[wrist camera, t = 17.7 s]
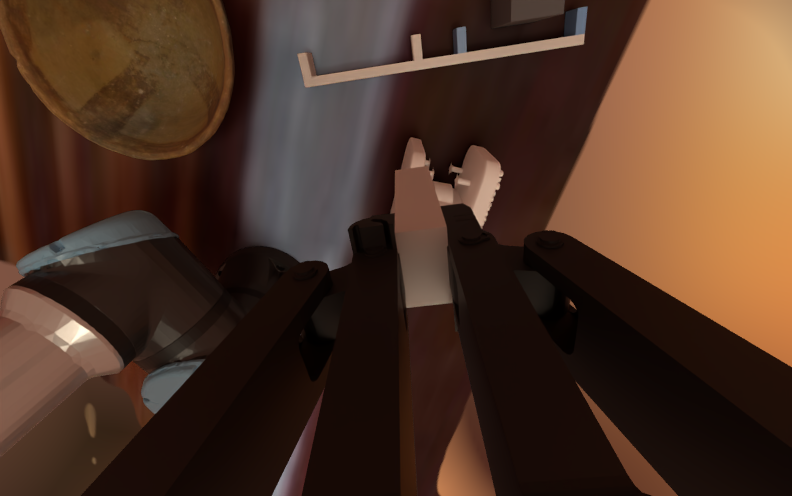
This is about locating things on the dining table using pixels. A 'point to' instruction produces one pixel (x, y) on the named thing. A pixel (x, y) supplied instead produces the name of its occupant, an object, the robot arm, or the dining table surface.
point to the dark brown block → (523, 11)
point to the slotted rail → (572, 36)
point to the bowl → (127, 69)
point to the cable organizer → (461, 178)
